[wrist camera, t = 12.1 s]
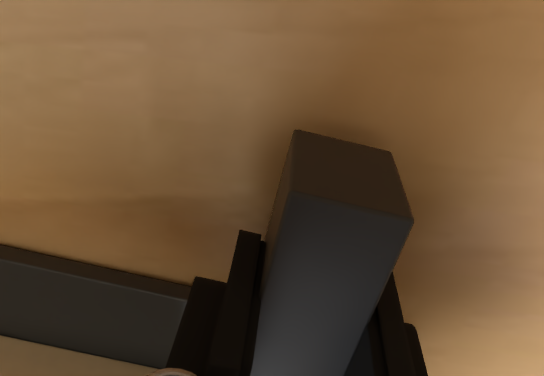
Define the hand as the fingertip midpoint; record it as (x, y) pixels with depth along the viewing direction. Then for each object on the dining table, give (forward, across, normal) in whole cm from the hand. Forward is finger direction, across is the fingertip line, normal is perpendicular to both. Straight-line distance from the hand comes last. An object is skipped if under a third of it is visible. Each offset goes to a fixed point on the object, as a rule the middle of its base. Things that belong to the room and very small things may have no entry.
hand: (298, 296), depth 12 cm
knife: (+1, 0, +5) cm, 5 cm away
